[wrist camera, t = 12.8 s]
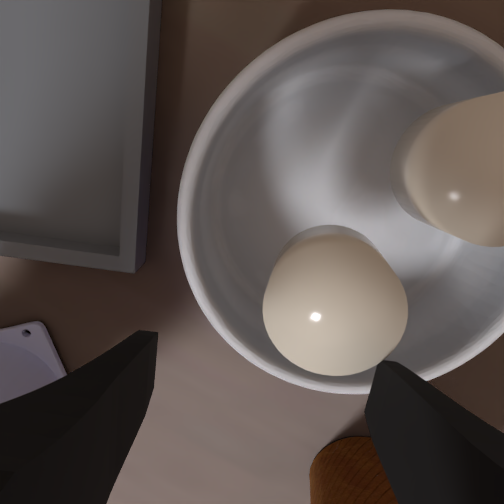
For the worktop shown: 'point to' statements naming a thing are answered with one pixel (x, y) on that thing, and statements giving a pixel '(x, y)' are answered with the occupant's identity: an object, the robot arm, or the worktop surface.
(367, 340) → the pebble
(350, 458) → the disposable coffee cup
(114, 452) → the robot arm
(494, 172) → the pebble
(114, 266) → the parts tray
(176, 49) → the worktop surface
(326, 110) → the dog bowl
